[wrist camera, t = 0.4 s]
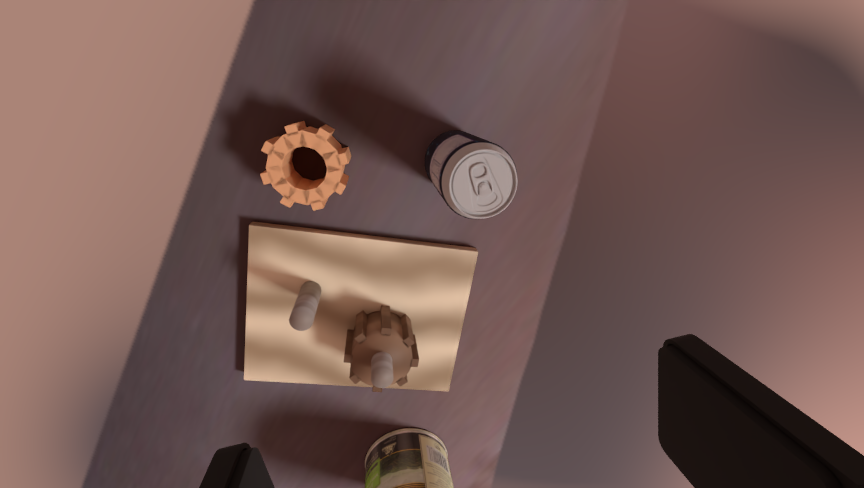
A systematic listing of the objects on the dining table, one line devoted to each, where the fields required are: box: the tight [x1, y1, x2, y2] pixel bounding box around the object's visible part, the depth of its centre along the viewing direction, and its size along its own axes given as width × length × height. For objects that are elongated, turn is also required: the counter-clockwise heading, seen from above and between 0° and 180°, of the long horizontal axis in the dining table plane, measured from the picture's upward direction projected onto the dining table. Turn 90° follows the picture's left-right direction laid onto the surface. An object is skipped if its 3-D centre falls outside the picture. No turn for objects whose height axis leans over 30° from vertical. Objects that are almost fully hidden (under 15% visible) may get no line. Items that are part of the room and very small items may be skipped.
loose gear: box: [260, 121, 351, 211], centre depth 36 cm, size 7×7×4 cm
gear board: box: [244, 222, 478, 392], centre depth 40 cm, size 17×22×8 cm
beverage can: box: [425, 131, 517, 219], centre depth 35 cm, size 6×6×12 cm
